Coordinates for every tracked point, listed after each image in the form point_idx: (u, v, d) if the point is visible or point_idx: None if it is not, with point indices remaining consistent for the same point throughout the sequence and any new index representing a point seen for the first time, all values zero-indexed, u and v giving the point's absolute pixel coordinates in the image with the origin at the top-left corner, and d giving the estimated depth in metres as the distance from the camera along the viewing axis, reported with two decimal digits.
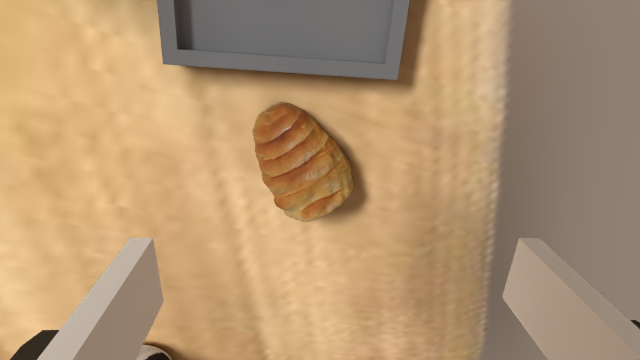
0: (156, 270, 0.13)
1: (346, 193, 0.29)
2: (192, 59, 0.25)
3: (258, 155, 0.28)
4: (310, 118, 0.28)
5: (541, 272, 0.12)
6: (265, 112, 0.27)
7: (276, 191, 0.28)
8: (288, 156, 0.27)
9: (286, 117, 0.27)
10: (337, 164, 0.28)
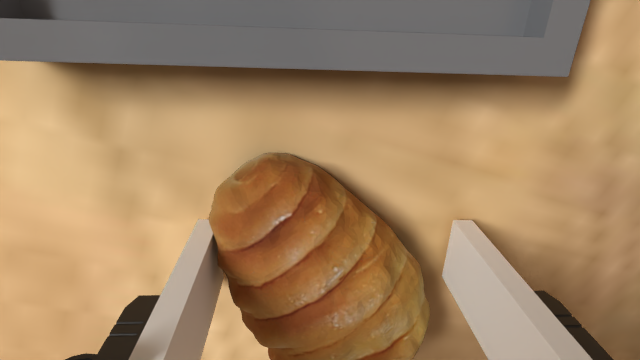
0: None
1: (420, 335, 0.14)
2: (42, 43, 0.09)
3: (225, 272, 0.13)
4: (333, 183, 0.13)
5: (467, 249, 0.13)
6: (231, 182, 0.12)
7: (269, 347, 0.13)
8: (289, 279, 0.12)
9: (280, 192, 0.12)
10: (399, 279, 0.13)
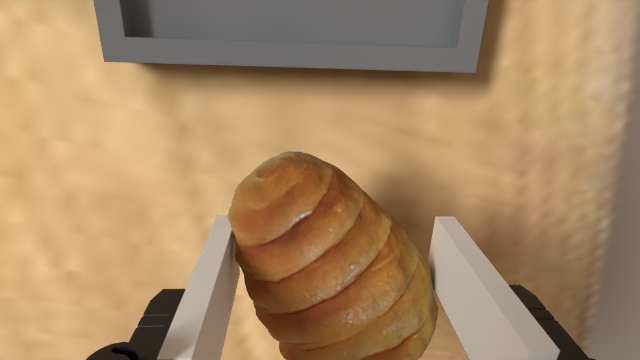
0: None
1: (429, 334, 0.14)
2: (150, 52, 0.16)
3: (242, 267, 0.13)
4: (351, 183, 0.13)
5: (447, 245, 0.13)
6: (253, 179, 0.12)
7: (282, 341, 0.13)
8: (307, 276, 0.12)
9: (301, 190, 0.12)
10: (412, 278, 0.13)
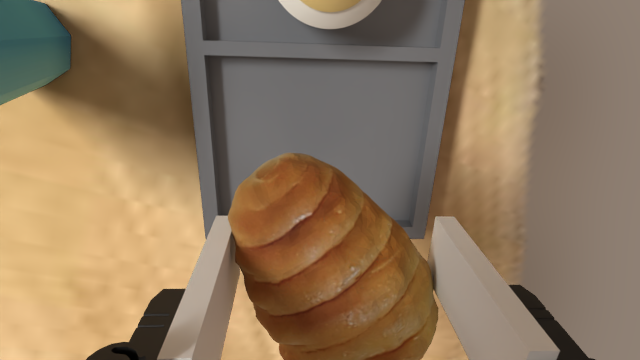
0: None
1: (429, 336, 0.14)
2: None
3: (242, 268, 0.13)
4: (351, 185, 0.13)
5: (447, 245, 0.13)
6: (253, 180, 0.12)
7: (282, 343, 0.13)
8: (307, 277, 0.12)
9: (301, 192, 0.12)
10: (412, 280, 0.13)
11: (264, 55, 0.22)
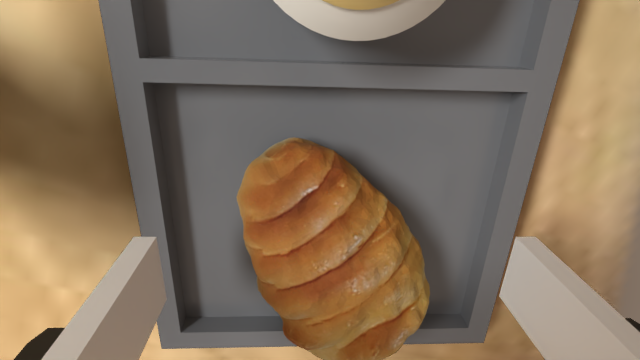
0: (159, 269, 0.13)
1: (424, 307, 0.15)
2: (201, 341, 0.18)
3: (250, 245, 0.14)
4: (350, 165, 0.14)
5: (537, 270, 0.12)
6: (263, 158, 0.13)
7: (289, 317, 0.14)
8: (314, 246, 0.13)
9: (307, 167, 0.13)
10: (407, 252, 0.15)
11: (243, 82, 0.13)
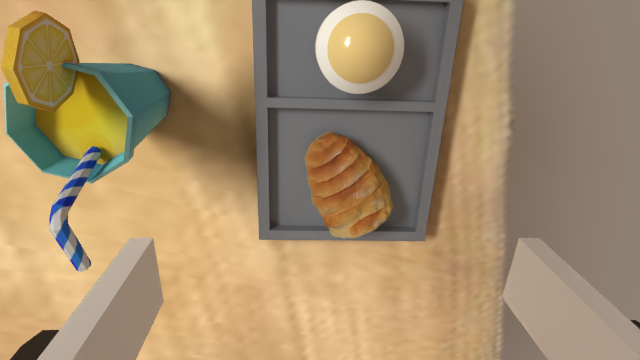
0: (156, 270, 0.13)
1: (389, 210, 0.32)
2: (279, 235, 0.35)
3: (310, 178, 0.31)
4: (355, 144, 0.32)
5: (541, 272, 0.12)
6: (317, 140, 0.31)
7: (327, 210, 0.31)
8: (339, 177, 0.31)
9: (337, 143, 0.31)
10: (381, 184, 0.32)
11: (309, 107, 0.31)
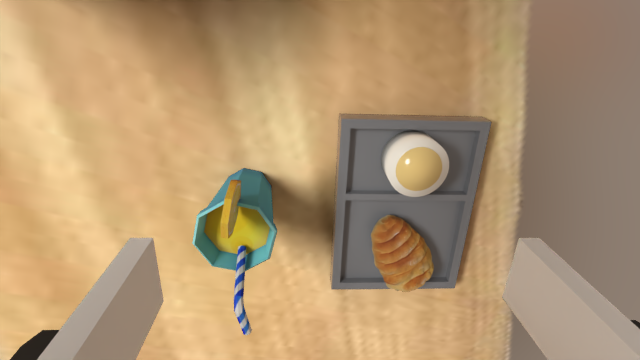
0: (156, 270, 0.13)
1: (431, 271, 0.44)
2: (347, 286, 0.47)
3: (375, 250, 0.43)
4: (407, 223, 0.44)
5: (541, 272, 0.12)
6: (381, 223, 0.43)
7: (388, 273, 0.43)
8: (398, 251, 0.42)
9: (396, 226, 0.42)
10: (426, 252, 0.44)
11: (376, 199, 0.42)
